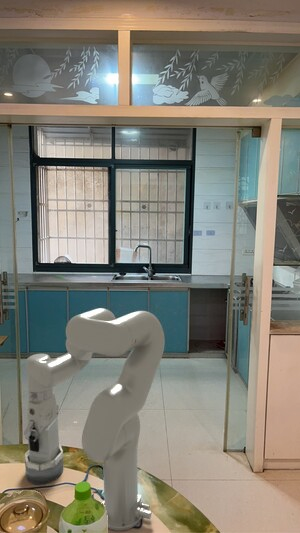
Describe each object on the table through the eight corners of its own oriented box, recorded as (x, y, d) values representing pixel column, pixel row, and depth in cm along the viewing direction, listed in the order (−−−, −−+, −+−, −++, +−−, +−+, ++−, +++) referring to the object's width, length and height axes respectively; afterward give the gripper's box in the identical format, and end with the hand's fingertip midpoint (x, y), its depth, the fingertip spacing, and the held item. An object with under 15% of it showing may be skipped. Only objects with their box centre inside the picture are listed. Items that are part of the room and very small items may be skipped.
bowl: (70, 463, 125) (69, 445, 124) (49, 488, 114) (48, 468, 113) (40, 456, 129) (39, 438, 128) (18, 479, 118) (16, 460, 117)
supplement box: (60, 452, 123) (58, 417, 121) (49, 466, 116) (47, 430, 114) (40, 449, 125) (38, 415, 123) (28, 463, 118) (26, 427, 116)
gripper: (33, 407, 108) (37, 460, 110) (65, 382, 124) (67, 429, 126) (12, 404, 110) (16, 456, 113) (46, 379, 126) (49, 425, 129)
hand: (43, 441), depth 119 cm, fingers open, 9 cm apart
